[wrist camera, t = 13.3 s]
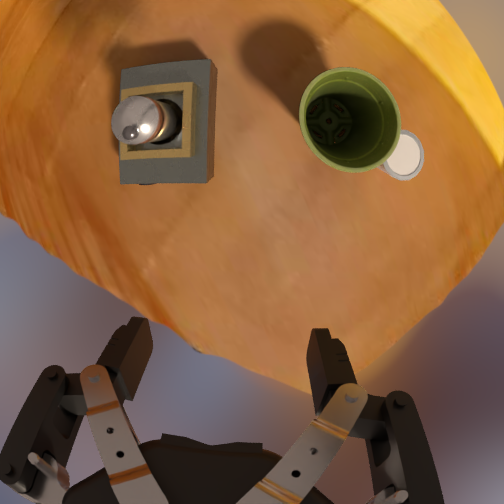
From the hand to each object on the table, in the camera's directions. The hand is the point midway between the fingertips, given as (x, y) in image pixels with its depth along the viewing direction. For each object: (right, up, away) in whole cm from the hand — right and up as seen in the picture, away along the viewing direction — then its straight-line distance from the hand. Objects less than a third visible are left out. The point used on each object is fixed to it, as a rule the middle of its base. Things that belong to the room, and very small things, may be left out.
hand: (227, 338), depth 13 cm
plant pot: (+12, +23, +23) cm, 34 cm away
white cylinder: (+21, +20, +24) cm, 37 cm away
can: (-10, +20, +17) cm, 29 cm away
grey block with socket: (-10, +23, +23) cm, 34 cm away
